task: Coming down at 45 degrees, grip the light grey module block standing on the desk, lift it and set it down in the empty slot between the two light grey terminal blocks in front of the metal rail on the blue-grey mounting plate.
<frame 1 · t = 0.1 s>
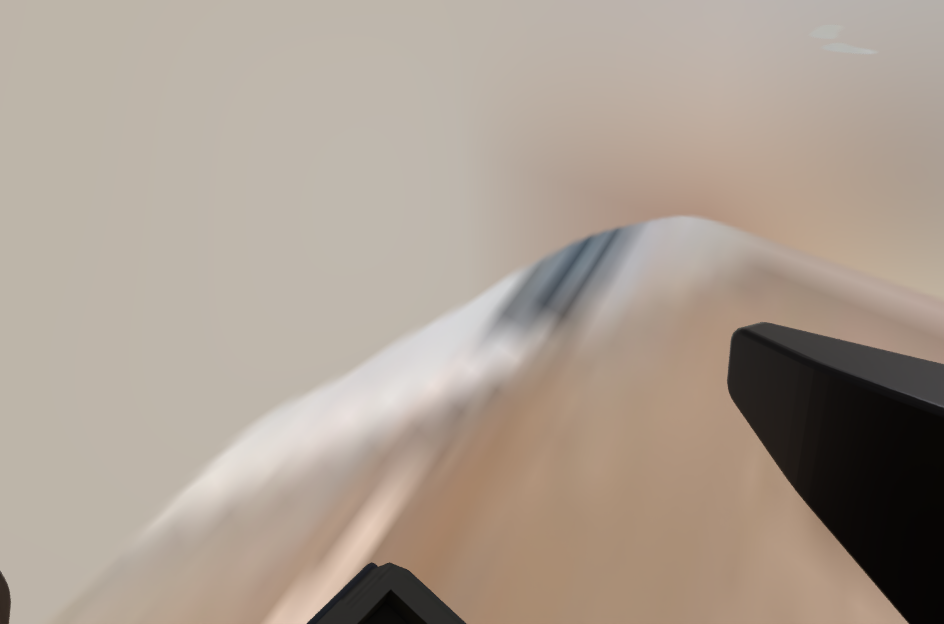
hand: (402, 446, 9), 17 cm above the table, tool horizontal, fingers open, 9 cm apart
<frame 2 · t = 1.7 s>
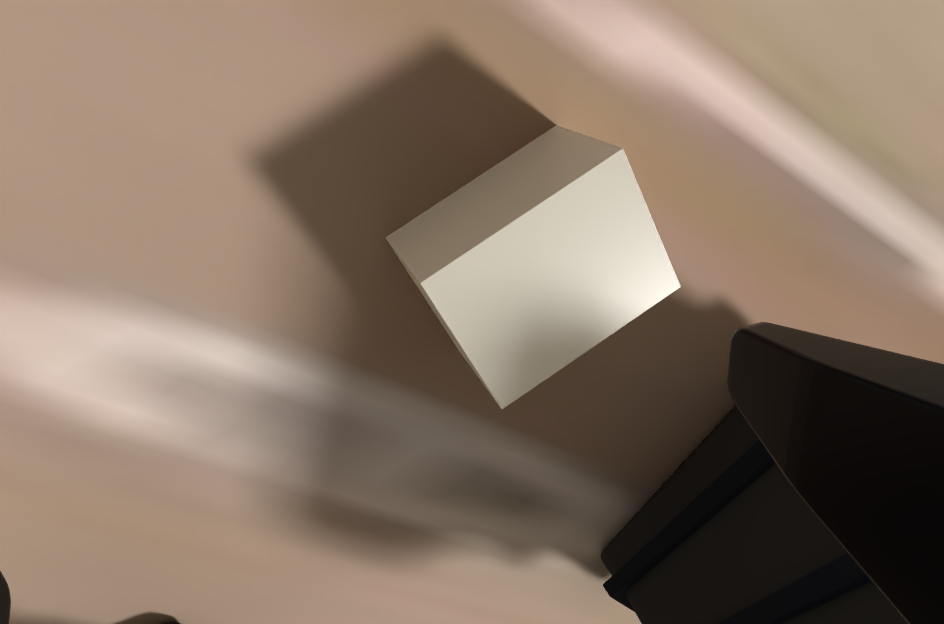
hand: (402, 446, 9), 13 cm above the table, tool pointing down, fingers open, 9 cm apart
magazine: (686, 490, 29), on the table
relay: (503, 240, 22), on the table
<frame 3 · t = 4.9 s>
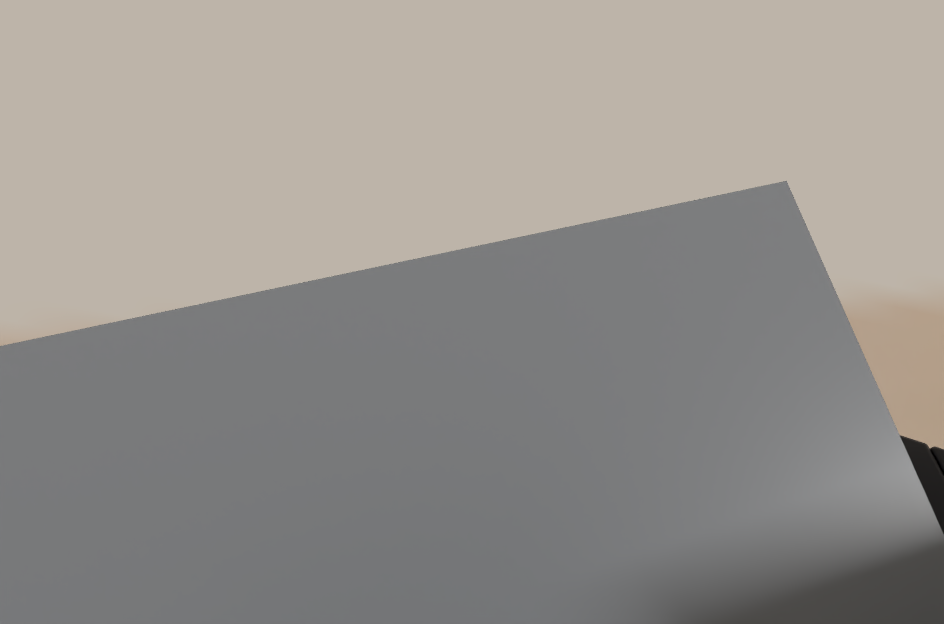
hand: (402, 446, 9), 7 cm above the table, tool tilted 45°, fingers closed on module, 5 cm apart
module: (401, 560, 14), on the table, touching gripper
when the fingers open (8 cm above the table, at t = 9.6 s): module stays where it is, resting on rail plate.
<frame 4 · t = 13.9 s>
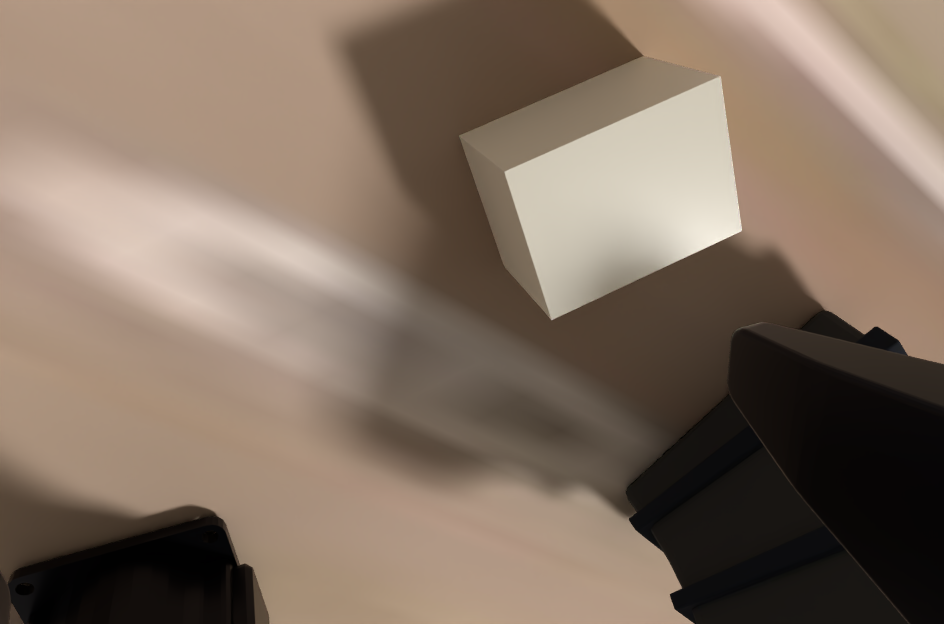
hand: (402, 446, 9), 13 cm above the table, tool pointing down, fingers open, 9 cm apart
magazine: (712, 434, 30), on the table
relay: (569, 163, 22), on the table
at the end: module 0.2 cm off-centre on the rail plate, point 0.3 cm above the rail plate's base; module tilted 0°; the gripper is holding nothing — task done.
